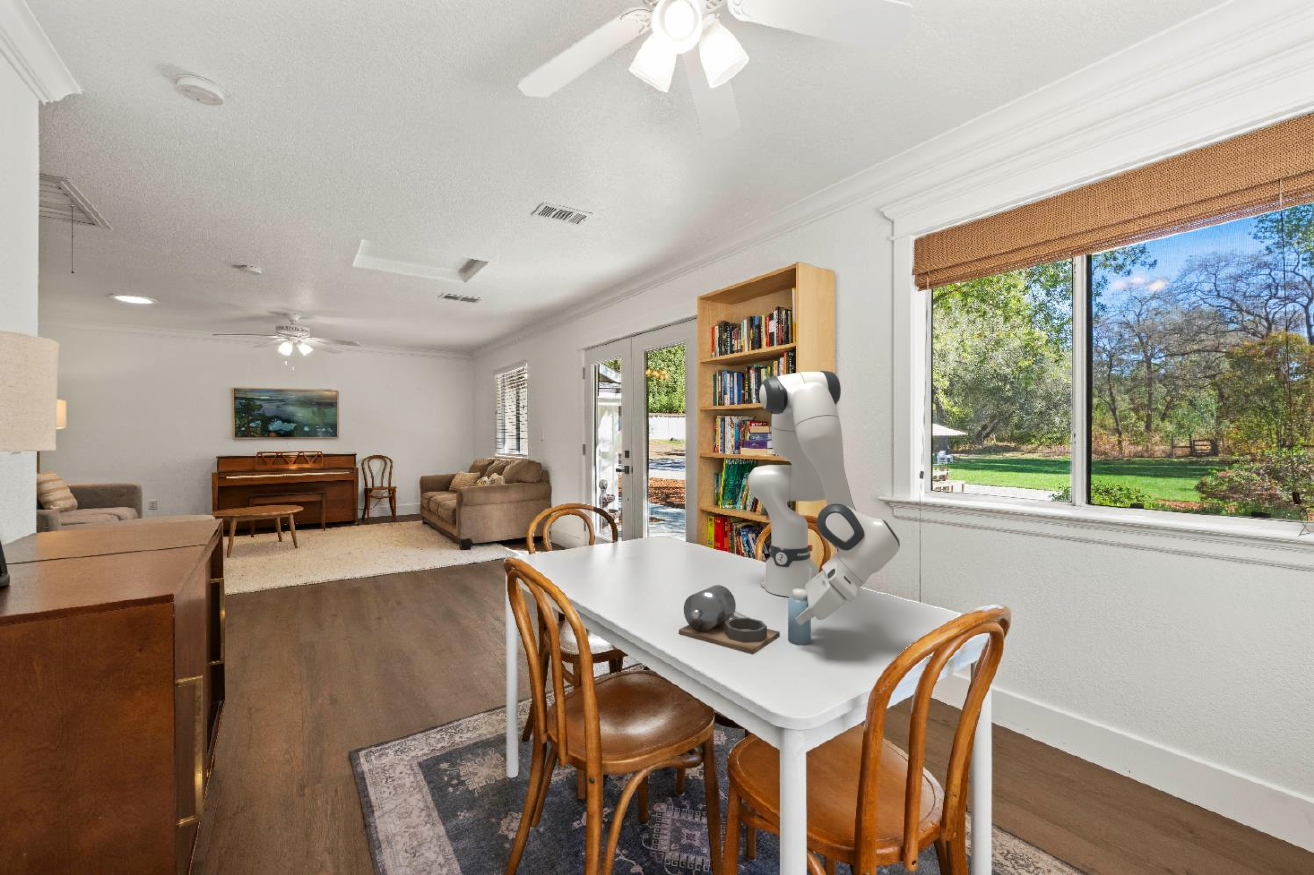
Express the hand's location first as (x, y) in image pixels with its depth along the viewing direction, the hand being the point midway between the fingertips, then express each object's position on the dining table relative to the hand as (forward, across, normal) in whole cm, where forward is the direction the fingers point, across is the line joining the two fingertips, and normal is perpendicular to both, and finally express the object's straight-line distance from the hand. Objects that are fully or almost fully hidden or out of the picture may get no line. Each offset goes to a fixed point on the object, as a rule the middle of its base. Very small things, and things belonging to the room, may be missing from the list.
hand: (796, 615), depth 131 cm
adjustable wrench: (+17, -15, -8) cm, 24 cm away
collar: (+13, +2, -4) cm, 13 cm away
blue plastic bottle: (+4, 0, +5) cm, 6 cm away
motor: (+19, -1, -12) cm, 22 cm away
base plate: (+15, 0, -7) cm, 17 cm away
